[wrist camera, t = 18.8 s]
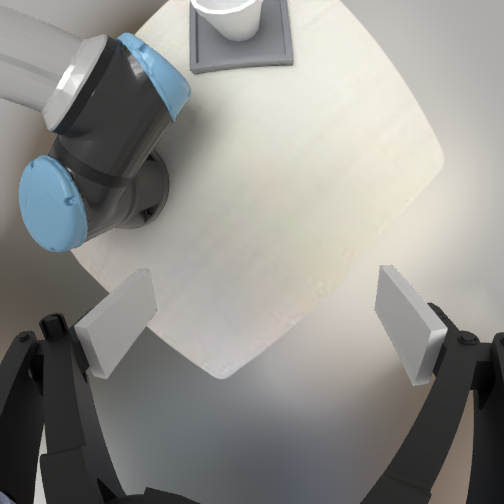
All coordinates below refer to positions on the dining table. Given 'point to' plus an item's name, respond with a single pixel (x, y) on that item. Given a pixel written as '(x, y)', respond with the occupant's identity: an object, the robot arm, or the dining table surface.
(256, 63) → the serving tray
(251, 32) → the foam cup
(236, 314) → the dining table surface
